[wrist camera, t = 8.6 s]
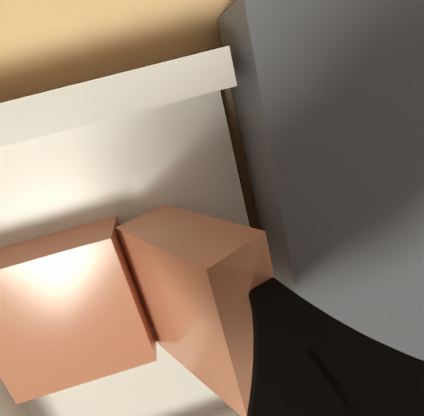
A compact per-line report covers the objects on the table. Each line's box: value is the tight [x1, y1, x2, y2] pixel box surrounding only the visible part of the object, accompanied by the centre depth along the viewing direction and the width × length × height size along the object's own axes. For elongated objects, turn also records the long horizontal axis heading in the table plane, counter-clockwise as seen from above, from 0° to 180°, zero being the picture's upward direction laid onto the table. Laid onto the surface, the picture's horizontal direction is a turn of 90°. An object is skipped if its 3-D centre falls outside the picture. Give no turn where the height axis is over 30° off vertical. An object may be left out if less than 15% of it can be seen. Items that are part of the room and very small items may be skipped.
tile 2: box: [0, 216, 157, 404], centre depth 12 cm, size 5×5×2 cm
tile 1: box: [115, 205, 274, 416], centre depth 11 cm, size 5×5×2 cm
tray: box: [0, 46, 250, 416], centre depth 13 cm, size 12×16×3 cm
